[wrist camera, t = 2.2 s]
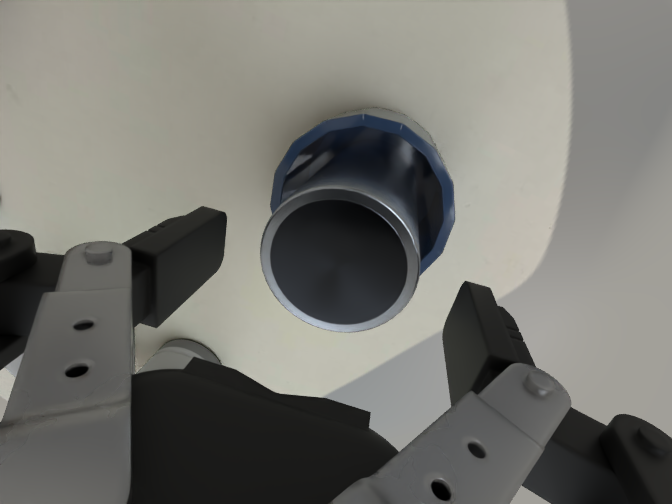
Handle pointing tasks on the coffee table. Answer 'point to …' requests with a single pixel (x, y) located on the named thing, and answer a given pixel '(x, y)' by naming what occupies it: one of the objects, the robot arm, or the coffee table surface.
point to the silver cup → (347, 240)
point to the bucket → (389, 127)
